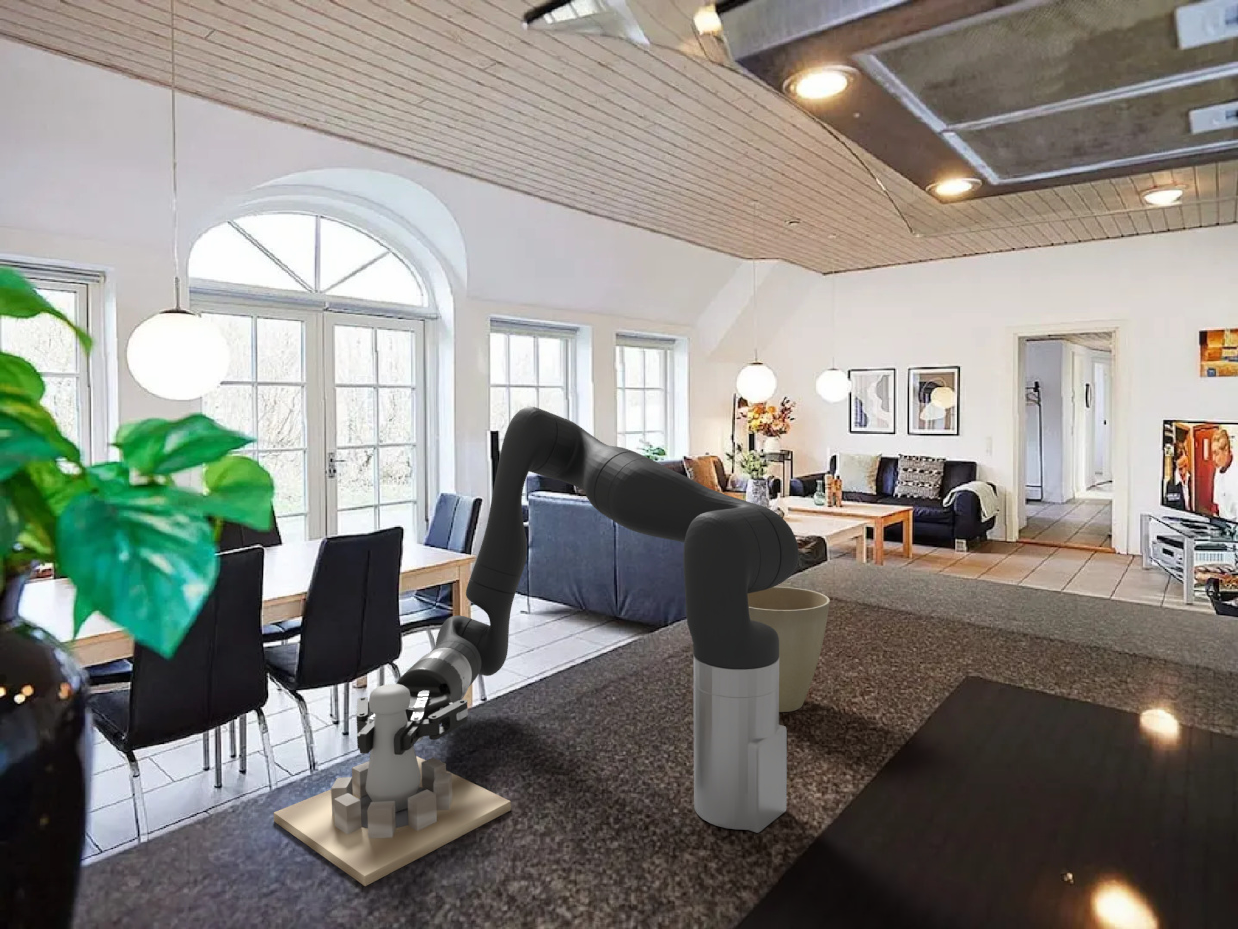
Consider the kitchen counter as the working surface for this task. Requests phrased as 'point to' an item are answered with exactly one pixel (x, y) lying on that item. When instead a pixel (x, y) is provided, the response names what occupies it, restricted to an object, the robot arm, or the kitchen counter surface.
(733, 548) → the robot arm
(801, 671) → the plant pot
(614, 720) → the kitchen counter surface
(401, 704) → the salt shaker
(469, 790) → the stonehenge model
